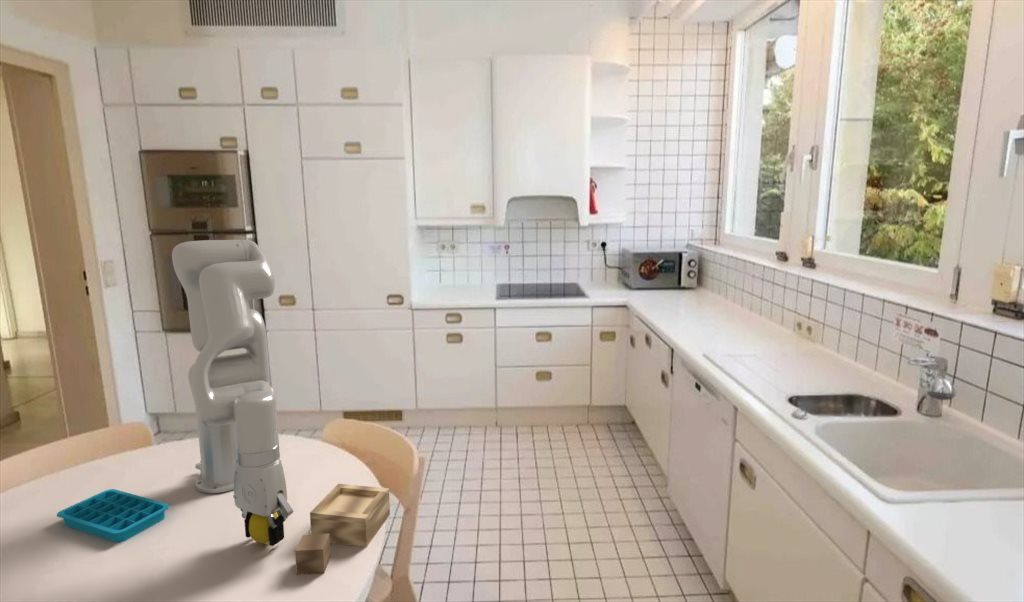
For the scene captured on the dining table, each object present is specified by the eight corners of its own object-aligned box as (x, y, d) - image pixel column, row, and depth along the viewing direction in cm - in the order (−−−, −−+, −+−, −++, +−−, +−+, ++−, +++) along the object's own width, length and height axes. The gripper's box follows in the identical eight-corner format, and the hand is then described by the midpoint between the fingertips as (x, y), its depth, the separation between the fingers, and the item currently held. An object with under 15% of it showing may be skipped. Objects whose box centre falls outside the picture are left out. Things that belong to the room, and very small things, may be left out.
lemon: (268, 553, 106) (266, 516, 105) (244, 549, 107) (241, 512, 106) (285, 537, 111) (283, 501, 110) (262, 533, 113) (259, 498, 111)
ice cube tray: (112, 500, 126) (110, 488, 125) (173, 517, 119) (172, 505, 118) (55, 526, 115) (53, 513, 115) (119, 548, 108) (117, 534, 108)
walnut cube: (296, 575, 100) (295, 550, 99) (304, 558, 105) (302, 534, 104) (324, 573, 100) (323, 549, 100) (330, 556, 105) (329, 533, 105)
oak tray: (311, 540, 110) (309, 512, 109) (339, 509, 122) (338, 483, 121) (366, 546, 108) (365, 518, 107) (389, 514, 120) (389, 488, 119)
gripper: (211, 453, 106) (219, 537, 109) (275, 471, 99) (281, 560, 102) (244, 439, 113) (250, 518, 116) (306, 455, 106) (311, 538, 109)
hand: (265, 537), depth 109 cm, fingers open, 5 cm apart
